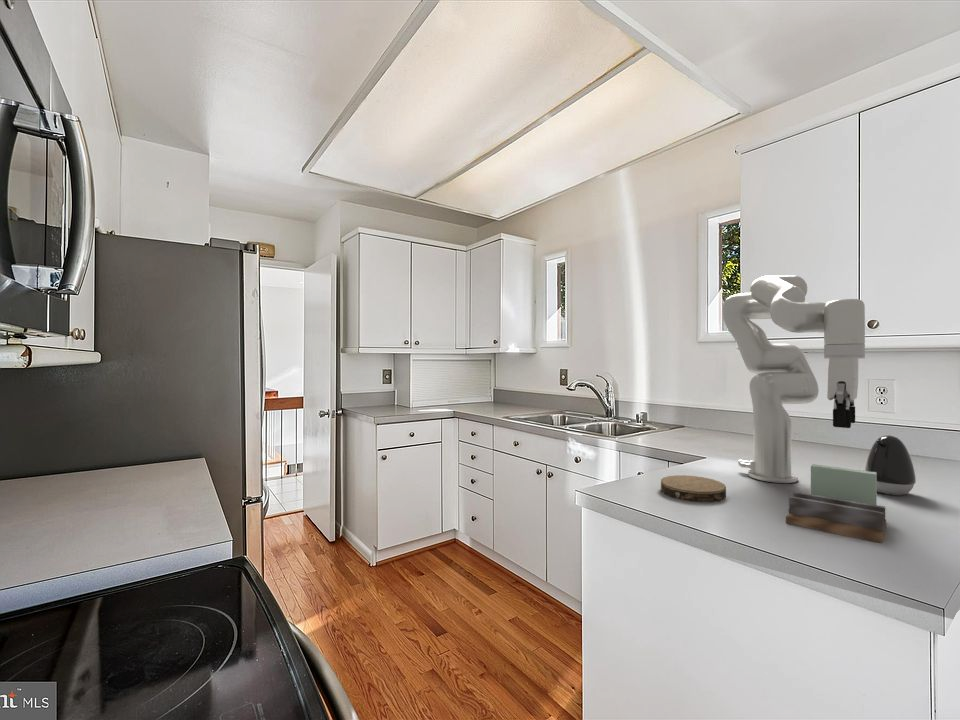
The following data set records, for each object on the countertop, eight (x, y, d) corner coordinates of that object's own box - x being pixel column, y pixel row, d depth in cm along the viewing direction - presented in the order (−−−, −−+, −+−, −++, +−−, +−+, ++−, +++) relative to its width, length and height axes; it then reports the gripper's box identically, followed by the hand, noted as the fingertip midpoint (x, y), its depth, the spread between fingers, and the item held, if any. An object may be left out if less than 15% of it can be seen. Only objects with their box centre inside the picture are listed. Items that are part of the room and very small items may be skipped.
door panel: (810, 506, 112) (810, 465, 112) (812, 504, 114) (812, 464, 113) (875, 518, 103) (875, 474, 103) (876, 515, 105) (876, 472, 105)
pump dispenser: (855, 489, 125) (855, 434, 125) (877, 485, 129) (877, 431, 129) (902, 500, 115) (902, 440, 115) (924, 495, 120) (924, 437, 119)
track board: (785, 522, 101) (785, 500, 101) (797, 509, 110) (796, 488, 110) (882, 543, 90) (882, 517, 90) (886, 526, 99) (886, 503, 99)
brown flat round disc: (675, 482, 135) (675, 472, 135) (734, 493, 124) (734, 482, 124) (650, 494, 124) (650, 483, 124) (713, 508, 112) (713, 495, 112)
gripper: (829, 352, 117) (829, 419, 117) (818, 352, 104) (818, 427, 105) (867, 352, 112) (868, 422, 112) (861, 352, 99) (861, 431, 99)
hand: (844, 424), depth 108 cm, fingers open, 9 cm apart
